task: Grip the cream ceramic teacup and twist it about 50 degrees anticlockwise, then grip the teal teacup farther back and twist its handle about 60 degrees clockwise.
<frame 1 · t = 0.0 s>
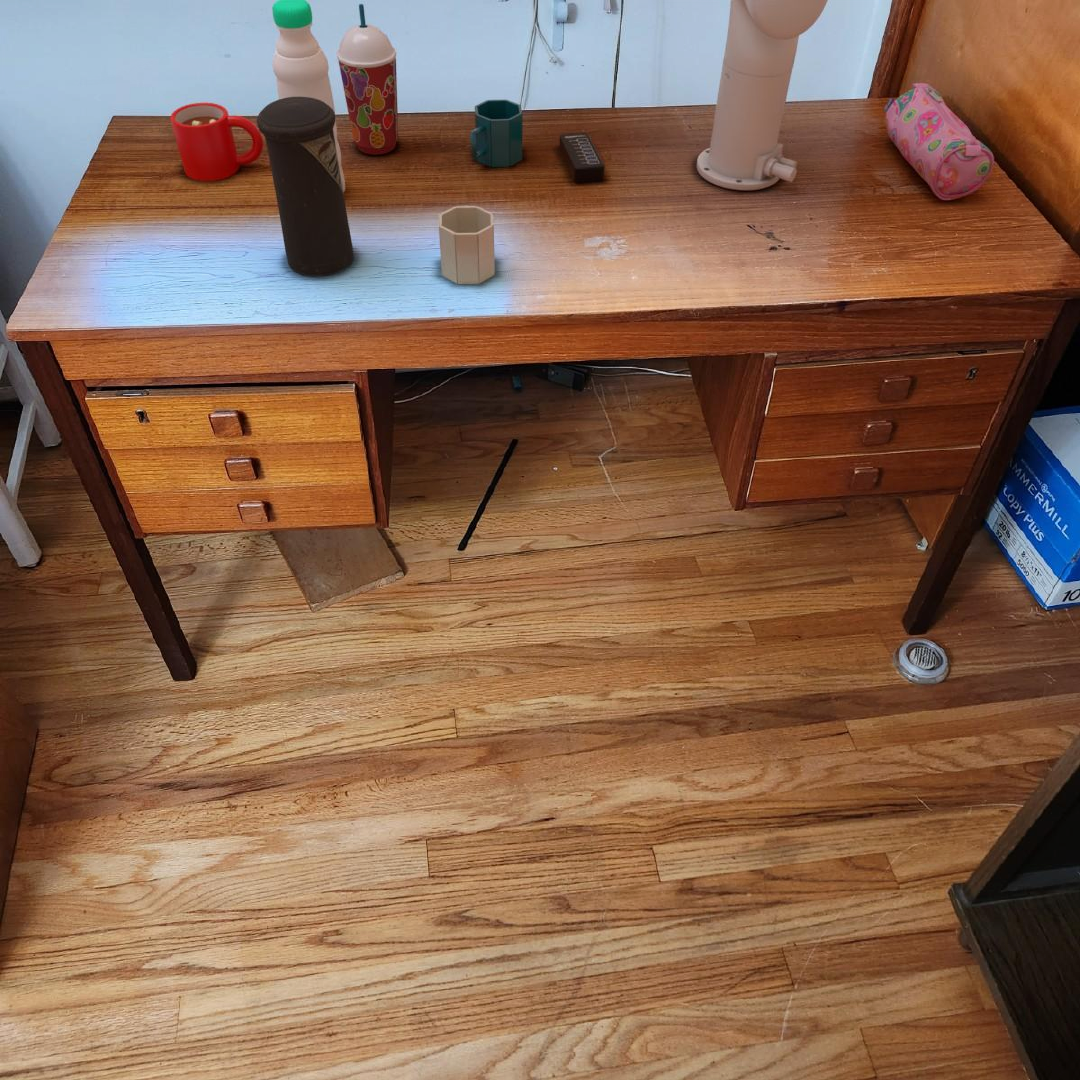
cup near: (467, 239, 123), point 3 cm above the table, hinge at 0.0°
smoothie: (376, 147, 146), on the table
water bottle: (321, 193, 137), on the table
mug: (226, 168, 141), on the table
multiport hub: (580, 165, 144), on the table
cup far: (493, 136, 142), point 3 cm above the table, hinge at 0.0°
container: (320, 261, 125), on the table
pencil case: (925, 170, 145), on the table
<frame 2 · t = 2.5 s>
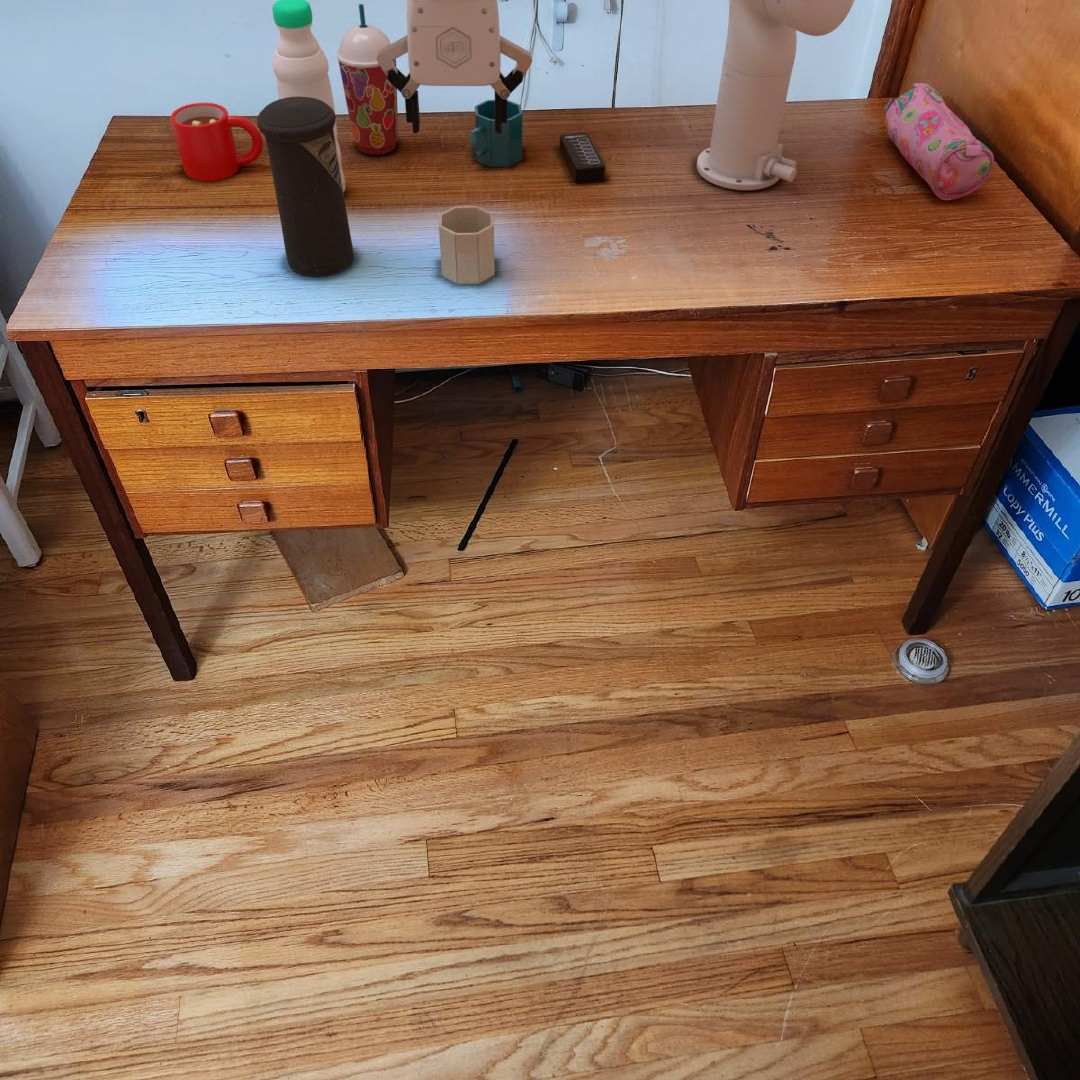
hand: (457, 128, 113), 17 cm above the table, tool pointing down, fingers open, 9 cm apart
nothing on the table moved.
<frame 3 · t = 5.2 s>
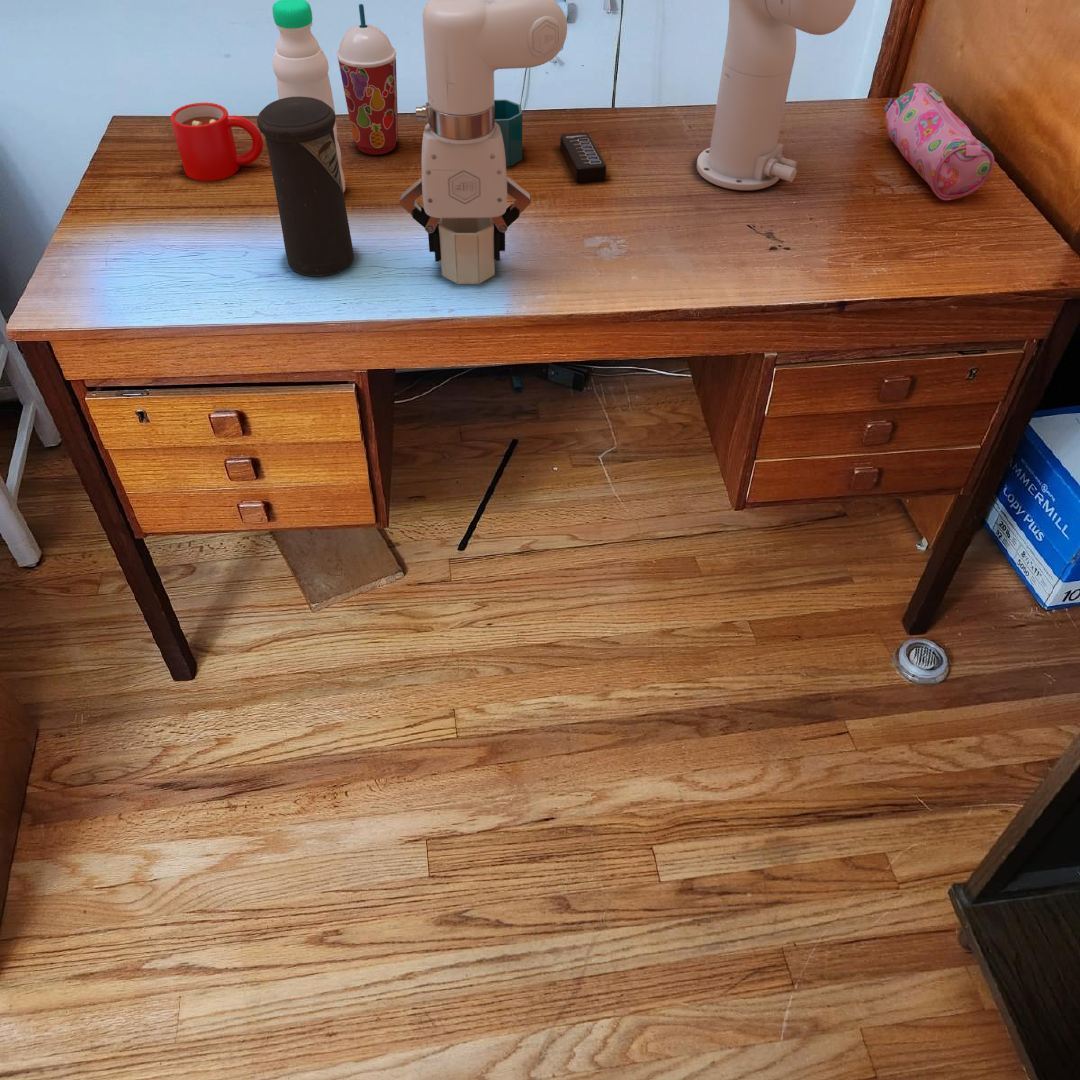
hand: (467, 254, 123), 2 cm above the table, tool pointing down, fingers closed on cup near, 6 cm apart
cup near: (467, 239, 123), point 3 cm above the table, hinge at 0.1°, touching gripper
everything else where it was.
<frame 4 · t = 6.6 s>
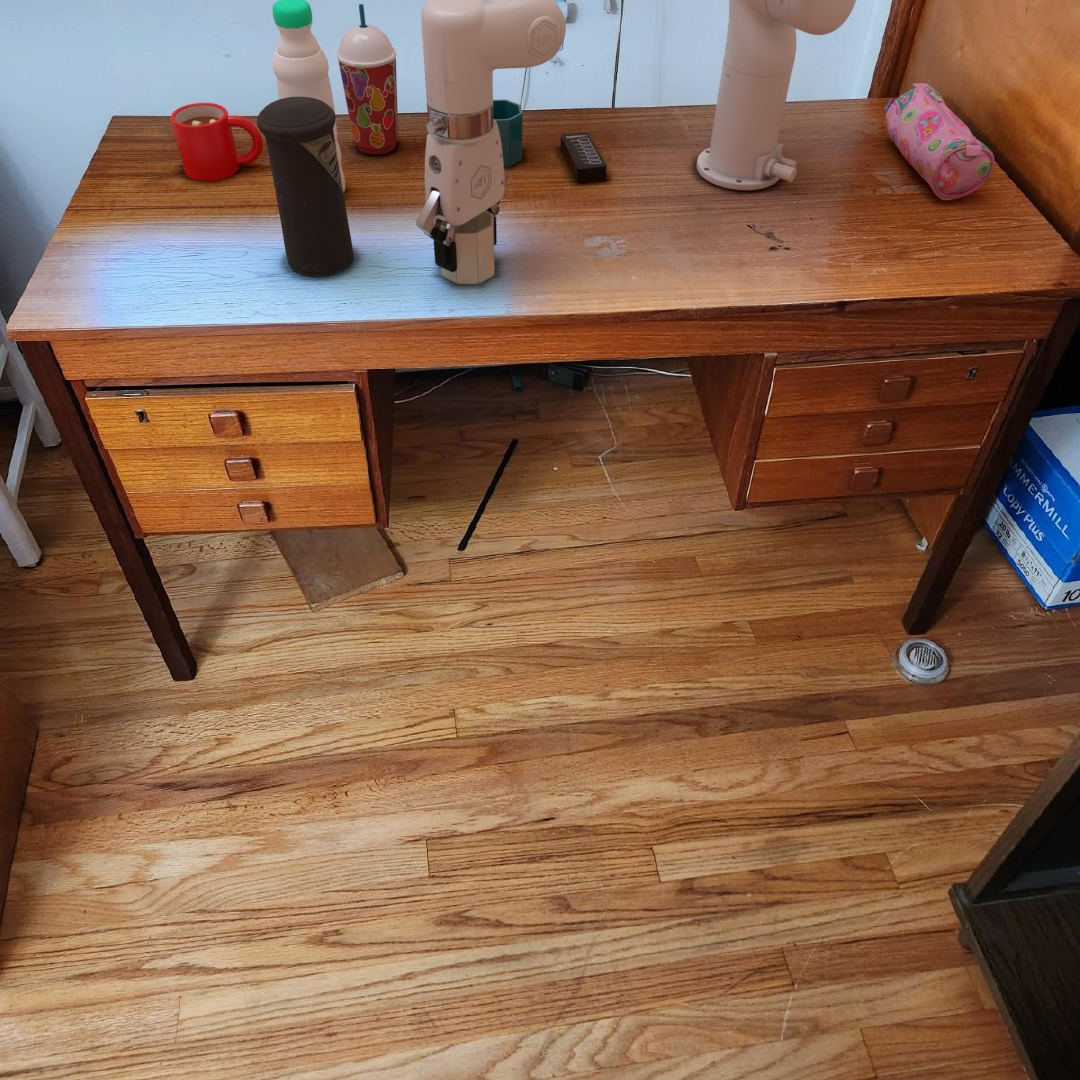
hand: (466, 253, 123), 2 cm above the table, tool pointing down, fingers closed on cup near, 7 cm apart
cup near: (460, 241, 122), point 4 cm above the table, hinge at 43.3°, touching gripper
everything else where it was.
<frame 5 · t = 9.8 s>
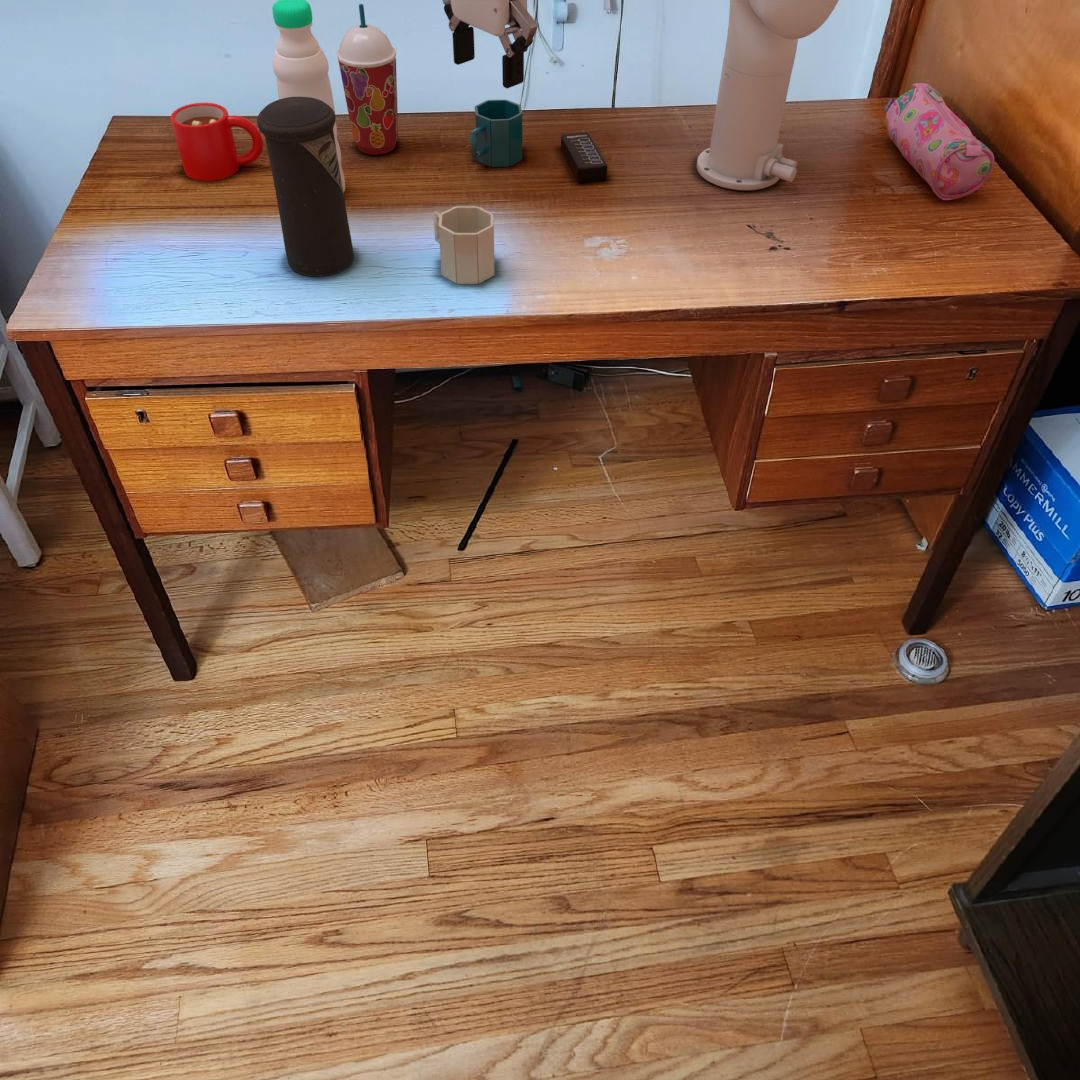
hand: (488, 73, 126), 16 cm above the table, tool pointing down, fingers open, 9 cm apart
cup near: (460, 241, 122), point 4 cm above the table, hinge at 43.4°
everything else where it was.
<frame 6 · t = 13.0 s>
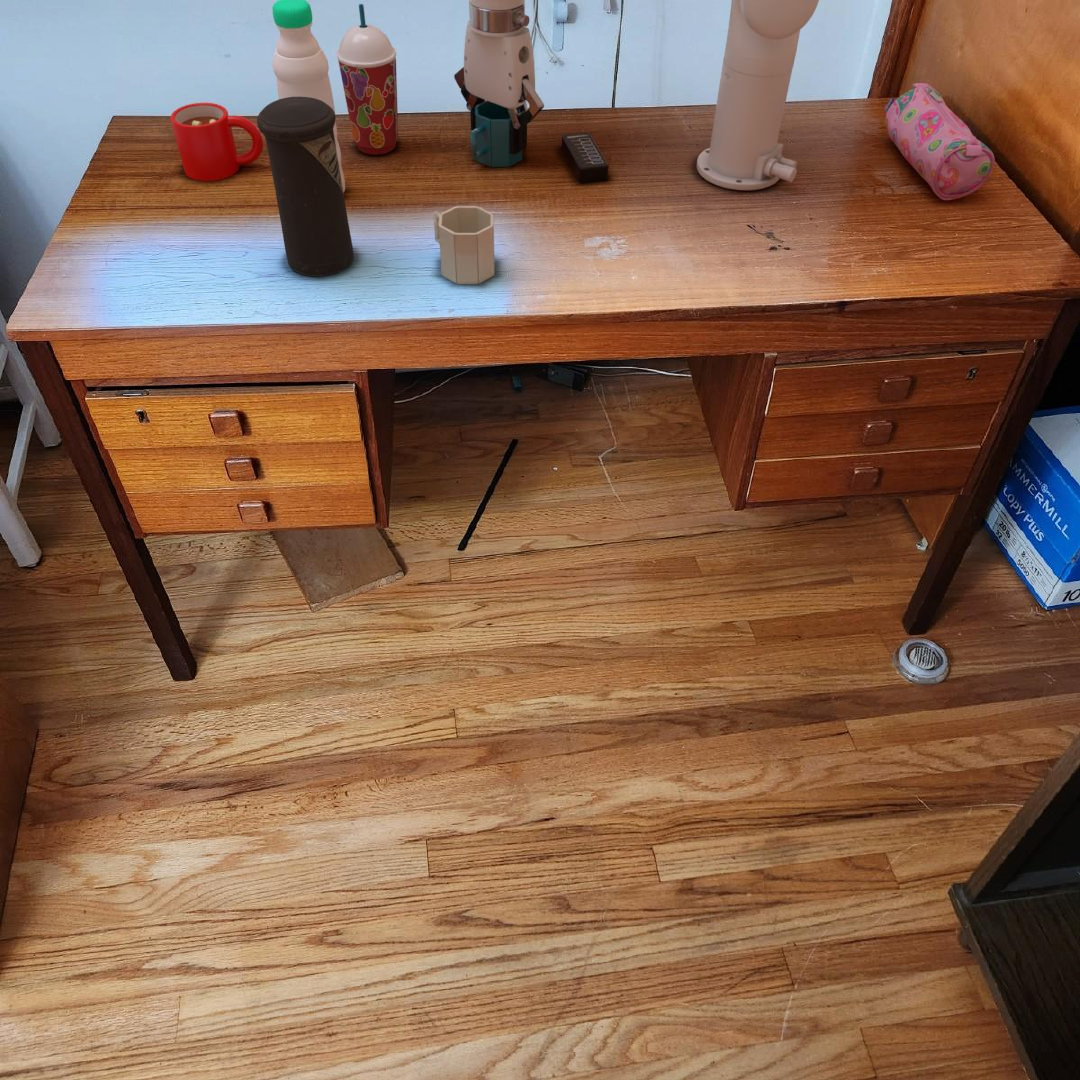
hand: (498, 142, 143), 2 cm above the table, tool pointing down, fingers closed on cup far, 6 cm apart
cup far: (493, 136, 142), point 4 cm above the table, hinge at -0.1°, touching gripper
everything else where it was.
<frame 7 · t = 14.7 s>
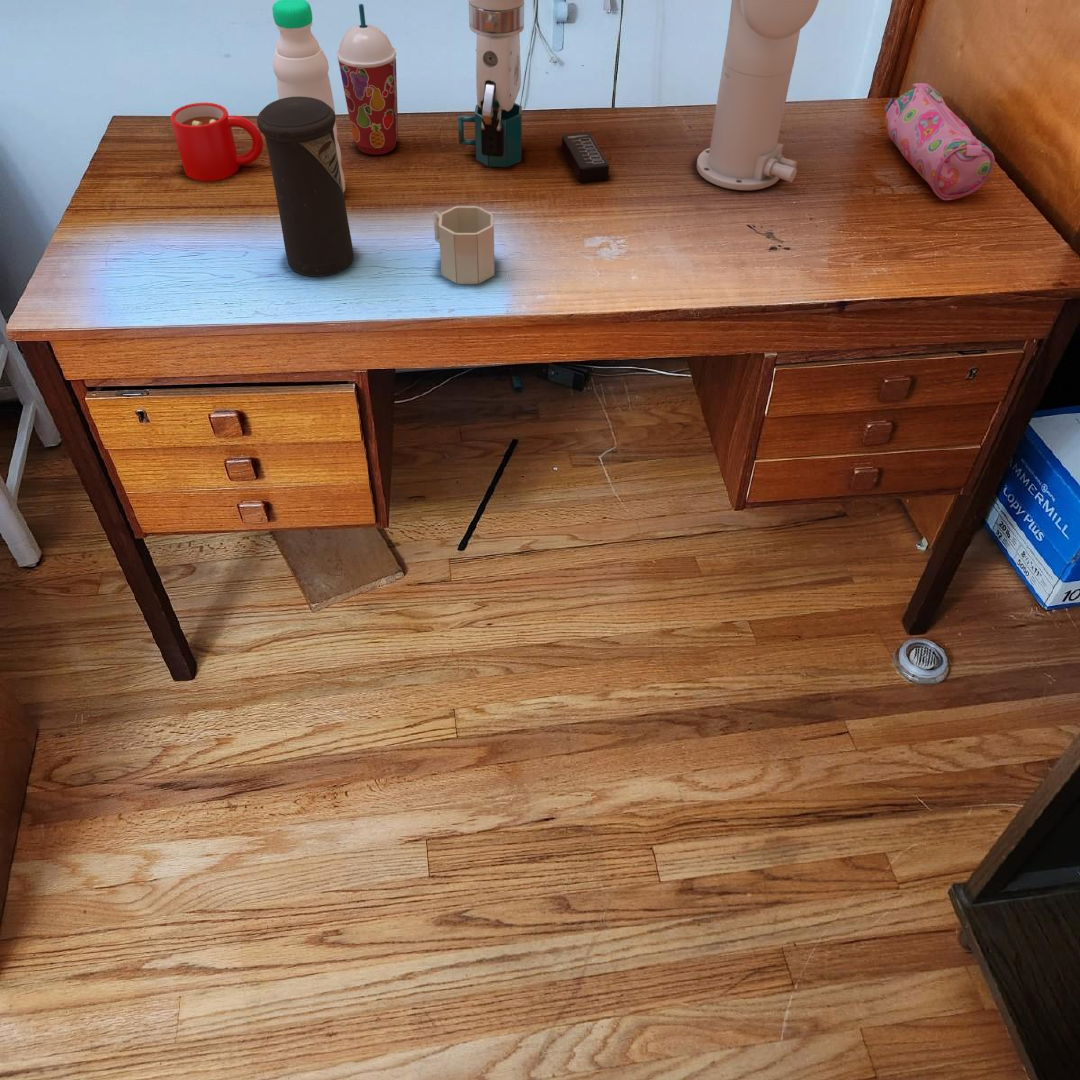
hand: (497, 141, 143), 2 cm above the table, tool pointing down, fingers closed on cup far, 7 cm apart
cup far: (490, 133, 142), point 4 cm above the table, hinge at -52.7°, touching gripper
everything else where it was.
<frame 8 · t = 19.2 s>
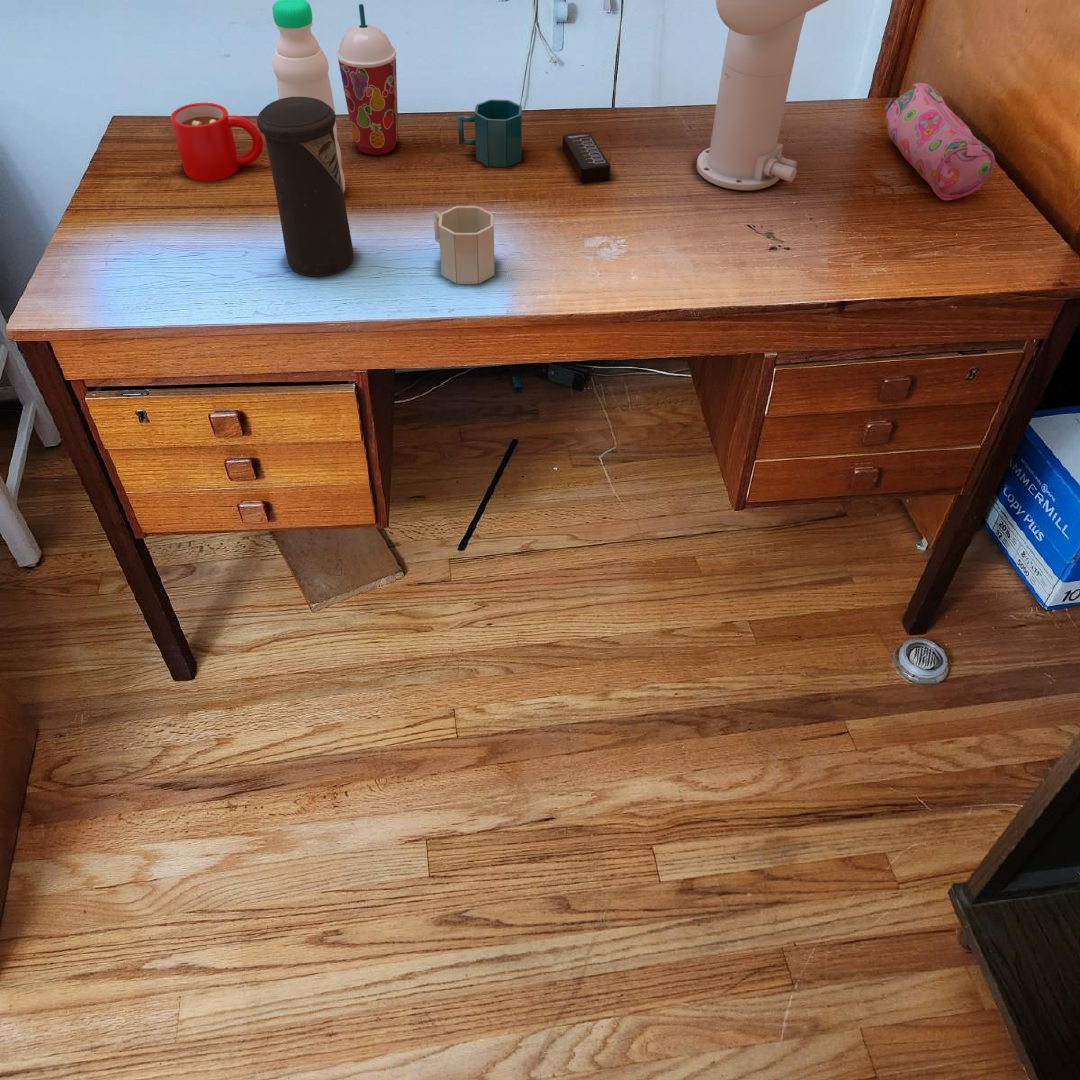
cup far: (490, 133, 142), point 3 cm above the table, hinge at -53.0°
everything else where it was.
at the end: cup near at +43° (first picture: +0°); cup far at -53° (first picture: +0°) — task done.
